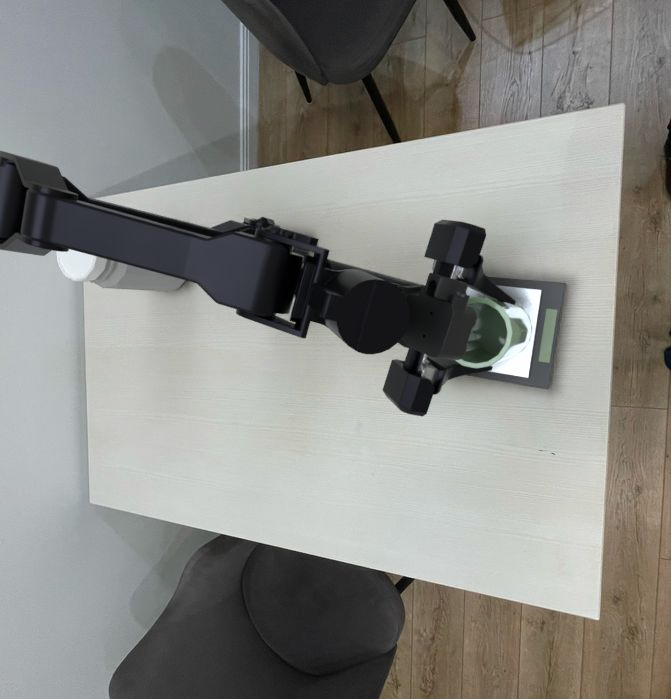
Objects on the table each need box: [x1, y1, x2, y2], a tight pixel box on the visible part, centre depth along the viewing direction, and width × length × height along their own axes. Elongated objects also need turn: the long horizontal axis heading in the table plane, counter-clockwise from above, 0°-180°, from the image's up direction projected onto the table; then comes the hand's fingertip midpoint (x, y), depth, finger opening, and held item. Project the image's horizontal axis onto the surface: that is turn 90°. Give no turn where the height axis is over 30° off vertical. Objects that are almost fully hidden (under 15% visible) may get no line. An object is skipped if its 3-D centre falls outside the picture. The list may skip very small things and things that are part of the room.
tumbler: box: [455, 297, 531, 368], centre depth 56 cm, size 7×7×13 cm
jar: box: [55, 249, 186, 293], centre depth 80 cm, size 10×10×18 cm
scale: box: [466, 275, 567, 390], centre depth 63 cm, size 12×12×3 cm
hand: (501, 335), depth 56 cm, fingers closed on tumbler, 7 cm apart
